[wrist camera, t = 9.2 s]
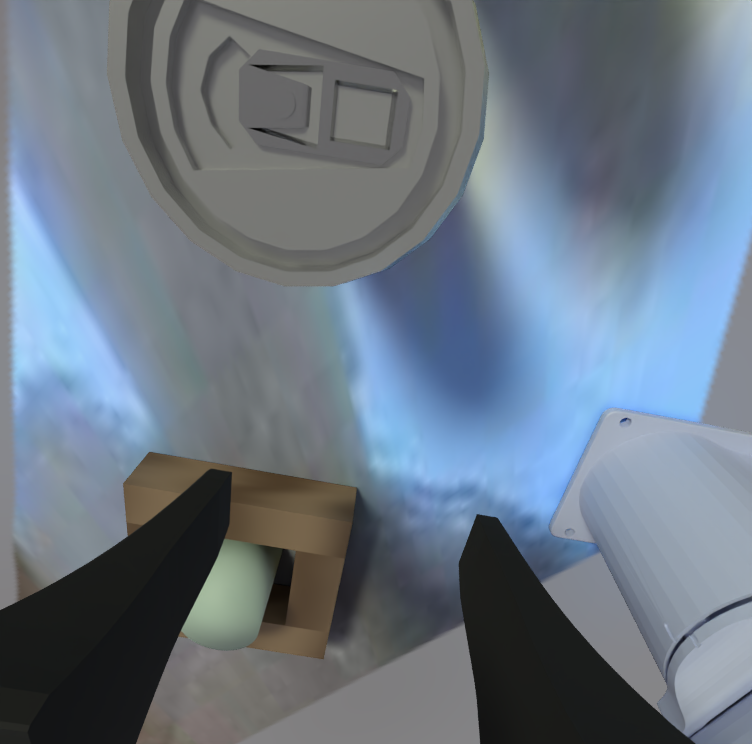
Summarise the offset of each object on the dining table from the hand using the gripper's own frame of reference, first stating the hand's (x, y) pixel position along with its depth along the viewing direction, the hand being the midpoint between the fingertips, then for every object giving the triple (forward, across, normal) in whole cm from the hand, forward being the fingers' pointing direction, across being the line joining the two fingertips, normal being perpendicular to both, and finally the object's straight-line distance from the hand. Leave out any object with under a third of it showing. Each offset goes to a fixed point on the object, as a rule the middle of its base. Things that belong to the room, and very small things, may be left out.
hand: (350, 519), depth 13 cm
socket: (+9, +5, +12) cm, 16 cm away
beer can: (+9, +2, -10) cm, 14 cm away
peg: (+9, +5, +12) cm, 16 cm away
